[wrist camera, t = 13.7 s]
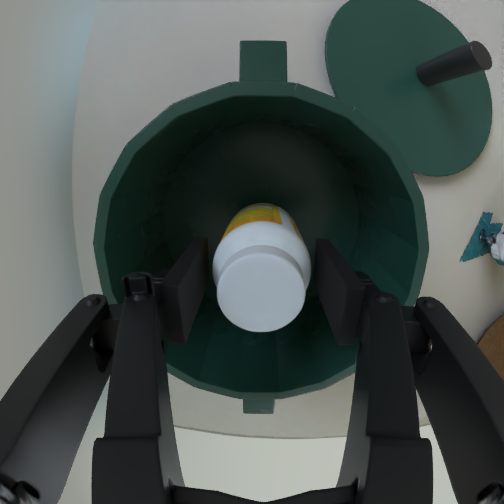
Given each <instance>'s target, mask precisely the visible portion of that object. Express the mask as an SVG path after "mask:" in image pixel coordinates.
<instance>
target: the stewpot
mask: <svg viewBox="0 0 504 504" xmlns="http://www.w3.org/2000/svg"><path fill="white" fill-rule="evenodd" d="M259 203H268V204H273V205H276V206H278V207H280V208H282V209H284V210H285V211H286V212H287V213H288V214H289V215H290V216H291V217H292V218H293V220H294V222H295V223H296V225H297V227H298V229H299V232H300V234H301V236H302V238H303V241H304V243H305V245H306V247H307V250H308V252H309V255H310V259H311V277H310V282H309V284H308V287H307V289H306V294H305V301H304V304H303V307H302V309H301V311H300V312H299V314H298V315H297V316H296V317H295V318H294V319H293V320H292V321H291V322H290V323H288V324H287V325H286V326H284V327H282V328H280V329H277V330H274V331H269V332H253V331H248V330H245V329H243V328H240V327H238V326H236V325H235V324H233V323H232V322H231V321H230V320H229V319H228V318H227V317H226V316H225V315H224V314H223V312H222V310H221V308H220V306H219V304H218V300H217V287H216V285H215V282H214V278H213V269H212V267H213V259H214V255H215V252H216V250H217V247H218V245H219V244H220V242H221V240H222V237H223V236H224V233H225V231H226V229H227V227H228V226H229V224H230V222H231V220H232V219H233V217H234V216H235V215H236V214H237V213H238V212H239V211H240V210H242V209H243V208H245V207H247V206H250V205H253V204H259ZM195 237H198V238H208V259H209V276H210V280H209V283H208V285H207V288H206V291H205V293H204V296H203V298H202V301H201V304H200V306H199V309H198V311H197V314H196V317H195V319H194V322H193V325H192V327H191V330H190V333H189V335H188V338H187V341H186V343H185V344H180V343H168V338H167V332H166V334H165V336H164V338H163V339H164V344H165V353H166V365H167V372H168V373H170V374H172V375H173V376H175V377H177V378H179V379H181V380H182V381H184V382H186V383H188V384H190V385H191V386H193V387H196V388H199V389H203V390H206V391H210V392H213V393H217V394H221V395H225V396H229V397H233V398H238V399H243V413H248V414H273V413H274V406H275V399H284V398H289V397H293V396H298V395H302V394H306V393H310V392H314V391H318V390H321V389H323V388H324V389H325V388H327V387H329V386H331V385H333V384H334V383H336V382H338V381H340V380H342V379H344V378H346V377H348V376H349V375H351V374H353V373H355V372H356V362H354V359H355V356H356V352H357V348H358V344H359V340H360V339H359V337H358V335H357V333H356V338H355V342H354V344H352V345H337V343H336V340H335V338H334V335H333V332H332V330H331V327H330V324H329V322H328V319H327V316H326V314H325V311H324V308H323V306H322V303H321V301H320V298H319V295H318V293H317V290H316V288H315V285H314V283H313V272H314V261H315V248H316V239H329V240H330V241H331V243H332V244H333V245H334V247H335V248H336V249H337V250H338V252H339V253H340V254H341V255H342V257H343V258H344V259H345V261H346V262H347V263H348V265H349V266H350V267H351V268H352V270H353V271H361V272H363V273H365V274H367V275H368V276H369V277H370V278H371V281H373V282H374V284H375V285H376V286H377V287H378V288H379V290H380V291H381V292H387V293H390V294H393V295H395V296H396V297H397V298H398V299H399V302H400V305H403V306H411V307H413V306H414V304H415V302H416V300H417V299H418V296H419V293H420V289H421V285H422V281H423V276H424V272H425V267H426V262H427V257H428V252H429V241H428V230H427V221H426V213H425V205H424V199H423V195H422V193H421V191H420V189H419V186H418V184H417V182H416V180H415V178H414V176H413V174H412V172H411V170H410V168H409V166H408V164H407V162H406V160H405V158H404V156H403V154H402V152H401V151H400V149H399V148H398V146H397V145H396V144H395V143H394V142H393V141H392V140H391V139H390V138H389V137H388V136H387V135H386V134H385V133H384V132H383V131H381V130H380V129H379V128H378V127H377V126H376V125H375V124H374V123H373V122H372V121H371V120H370V119H368V118H367V117H366V116H365V115H364V114H363V113H362V112H361V111H359V110H358V109H357V108H356V107H354V106H353V105H351V104H348V103H346V102H344V101H342V100H339V99H337V98H335V97H332V96H330V95H327V94H325V93H322V92H320V91H317V90H315V89H312V88H309V87H307V86H304V85H301V84H298V83H296V84H295V83H292V82H287V46H286V41H240V79H239V82H232V83H231V82H229V83H226V84H223V85H220V86H217V87H214V88H211V89H209V90H206V91H203V92H200V93H198V94H195V95H193V96H190V97H187V98H185V99H183V100H180V101H178V102H175V103H173V104H172V105H170V106H169V107H168V108H166V109H165V110H164V111H163V112H162V113H160V114H159V115H158V116H157V117H156V118H155V119H153V120H152V121H151V122H150V123H149V124H148V125H147V126H145V127H144V128H143V129H142V130H141V131H140V132H139V133H138V134H137V135H136V136H135V137H134V138H132V139H131V140H130V141H129V142H128V143H127V145H126V146H125V148H124V149H123V151H122V153H121V155H120V156H119V158H118V160H117V162H116V164H115V166H114V168H113V169H112V171H111V173H110V175H109V177H108V179H107V181H106V183H105V185H104V187H103V189H102V191H101V194H100V197H99V204H98V210H97V217H96V224H95V232H94V241H93V245H94V252H95V258H96V263H97V269H98V274H99V279H100V283H101V288H102V292H103V295H104V296H106V298H107V301H108V305H110V304H120V303H124V293H123V288H122V282H121V279H122V277H123V276H125V275H127V274H129V273H132V272H140V271H144V272H149V273H151V274H152V276H154V275H155V274H156V273H158V272H160V271H161V270H171V268H172V267H173V266H174V264H175V263H176V262H177V260H178V259H179V258H180V256H181V255H182V254H183V252H184V251H185V250H186V249H187V247H188V246H189V245H190V243H191V242H192V241H193V239H194V238H195Z"/></svg>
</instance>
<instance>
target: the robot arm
mask: <svg viewBox="0 0 504 504" xmlns="http://www.w3.org/2000/svg"><path fill="white" fill-rule="evenodd" d="M209 280H210V276H209V259H208V238H198V237H195V238H194V239H193V241H192V242H191V243H190V245H189V246H188V247H187V249H186V250H185V251H184V252H183V254H182V255H181V256H180V258H179V259H178V260H177V262H176V263H175V264H174V266H173V267H172V268H171V270H161V271H160V272H158V273H156V274H155V275H154V276H152V274H151V273H149V272H144V271H140V272H132V273H129V274H127V275H125V276H123V277H122V279H121V282H122V288H123V293H124V303H120V304H110V305H108V301H107V298H106V296H104V295H100V294H96V295H95V294H92V295H88V296H87V297H85V298H83V299H82V300H80V301H79V303H78V304H77V305H76V306H75V307H74V308H73V309H72V311H70V312H69V314H68V315H67V316H66V317H65V318H64V319H63V320H62V322H61V323H60V324H59V325H58V326H57V327H56V329H55V330H54V331H53V332H52V334H51V335H50V336H49V337H48V338H47V339H46V341H45V342H44V343H43V344H42V346H41V347H40V348H39V349H38V351H37V352H36V353H35V355H34V356H33V357H32V358H31V359H30V361H29V362H28V363H27V365H26V366H25V367H24V369H23V370H22V371H21V373H20V374H19V375H18V377H17V378H16V379H15V381H14V382H13V384H12V385H11V386H10V388H9V389H8V391H7V392H6V394H5V395H4V397H3V398H2V399H1V401H0V504H57V503H58V501H59V499H60V497H61V494H62V492H63V489H64V487H65V484H66V481H67V478H68V476H69V473H70V470H71V467H72V464H73V461H74V459H75V456H76V453H77V451H78V448H79V446H80V443H81V441H82V438H83V436H84V433H85V431H86V428H87V426H88V423H89V421H90V419H91V416H92V413H93V411H94V409H95V407H96V404H97V402H98V400H99V398H100V396H101V393H102V391H103V389H104V386H105V385H106V382H107V380H108V378H109V376H110V382H109V390H108V399H107V409H106V421H105V433H104V437H103V438H97V439H96V440H95V441H94V446H93V457H92V504H432V503H433V459H432V446H431V442H430V440H429V439H428V438H421V437H420V431H419V417H418V406H417V396H416V389H417V391H418V394H419V396H420V398H421V401H422V403H423V406H424V408H425V411H426V413H427V416H428V418H429V421H430V423H431V426H432V428H433V431H434V434H435V436H436V439H437V442H438V445H439V447H440V450H441V453H442V456H443V459H444V462H445V465H446V468H447V472H448V475H449V478H450V482H451V485H452V488H453V491H454V494H455V496H456V500H457V502H458V504H504V381H503V380H502V378H501V377H500V375H499V374H498V373H497V371H496V370H495V368H494V367H493V366H492V364H491V363H490V362H489V360H488V359H487V357H486V356H485V355H484V353H483V352H482V351H481V350H480V348H479V347H478V346H477V344H476V343H475V342H474V341H473V339H472V338H471V337H470V336H469V334H468V333H467V332H466V331H465V329H464V328H463V327H462V326H461V325H460V323H459V322H458V321H457V320H456V319H455V317H454V316H453V315H452V314H451V313H450V312H449V311H448V309H447V308H446V307H445V306H444V305H443V304H442V303H441V302H440V301H438V300H436V299H435V298H433V297H432V298H431V297H420V298H418V299H417V301H416V304H415V307H411V306H403V305H400V302H399V299H398V298H397V297H396V296H395V295H393V294H390V293H387V292H381V291H380V290H379V288H378V287H377V286H376V285H375V284H374V282H373V281H371V278H370V277H369V276H368V275H367V274H365V273H363V272H361V271H353V270H352V268H351V267H350V266H349V265H348V263H347V262H346V261H345V259H344V258H343V257H342V255H341V254H340V253H339V252H338V250H337V249H336V248H335V247H334V245H333V244H332V243H331V241H330V240H329V239H316V248H315V261H314V272H313V283H314V285H315V288H316V290H317V293H318V295H319V298H320V301H321V303H322V306H323V308H324V311H325V314H326V316H327V319H328V322H329V324H330V327H331V330H332V332H333V335H334V338H335V340H336V343H337V345H352V344H354V342H355V338H356V333H357V335H358V337H359V339H360V340H359V344H358V348H357V352H356V356H355V359H354V362H356V372H355V382H354V391H353V399H352V407H351V414H350V421H349V428H348V434H347V440H346V446H345V451H344V456H343V461H342V466H341V470H340V475H339V479H338V483H337V485H336V488H330V489H321V490H312V491H308V492H304V493H301V494H297V495H294V496H290V497H286V498H283V499H278V500H274V501H270V502H258V501H254V500H249V499H245V498H241V497H237V496H233V495H230V494H226V493H223V492H219V491H214V490H204V489H196V488H189V487H185V484H184V481H183V477H182V472H181V467H180V461H179V456H178V451H177V444H176V438H175V432H174V425H173V418H172V411H171V403H170V395H169V386H168V376H167V365H166V353H165V344H164V339H163V338H164V336H165V334H166V332H167V338H168V343H180V344H185V343H186V341H187V338H188V335H189V333H190V330H191V327H192V325H193V322H194V319H195V317H196V314H197V311H198V309H199V306H200V304H201V301H202V298H203V296H204V293H205V291H206V288H207V285H208V283H209ZM90 344H91V346H90ZM431 344H432V350H431V348H430V347H431ZM415 387H416V388H415Z"/></svg>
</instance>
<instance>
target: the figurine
mask: <svg viewBox="0 0 504 504" xmlns="http://www.w3.org/2000/svg"><path fill="white" fill-rule="evenodd" d="M492 215H493V214H492V213H490V212H489V213H485V212H483V216H482V218H481V219H480V222H479V225H478V226H477V228H476V230H475V231H474V234H473V236H472V238H471V242H470V243H469V245H468V246H467V249H466V250H465V251H464V254H463V257H462V256H461V259H460V261H463V262H464V261H466V260H469V259H473V258H474V257H477V256H479V255H481V256H483V255H484V254H486V253H490V252H491V257H492V258H493V259H494V260H495V261H496V262H497V263H498V264H500V265H503V266H504V230H503V231H501V227H502V225H503V223H502V224H501V223H499V224H497V223H496V224H494V223H492V224H490V221H491V217H492ZM500 231H501V232H500Z"/></svg>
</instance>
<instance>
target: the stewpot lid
mask: <svg viewBox="0 0 504 504" xmlns="http://www.w3.org/2000/svg"><path fill="white" fill-rule="evenodd" d="M325 60H326V68H327V72H328V76H329V80H330V83H331V86H332V88H333V91H334V93H335V96H336V98H337V99H339V100H342V101H344V102H346V103H348V104H351V105H353V106H354V107H356V108H357V109H358V110H359V111H361V112H362V113H363V114H364V115H365V116H366V117H367V118H368V119H370V120H371V121H372V122H373V123H374V124H375V125H376V126H377V127H378V128H379V129H380V130H381V131H383V132H384V133H385V134H386V135H387V136H388V137H389V138H390V139H391V140H392V141H393V142H394V143H395V144H396V145H397V146H398V148H399V149H400V151H401V152H402V154H403V156H404V158H405V160H406V162H407V164H408V166H409V168H410V170H411V172H414V173H418V174H422V175H427V176H448V175H451V174H455V173H458V172H460V171H462V170H464V169H465V168H467V167H468V166H469V165H471V164H472V163H473V162H474V161H475V160H476V159H477V158H478V156H479V155H480V153H481V152H482V150H483V149H484V147H485V144H486V142H487V140H488V137H489V133H490V129H491V123H492V100H491V93H490V88H489V84H488V80H487V78H486V75H485V72H484V71H485V70H489V69H490V68H491V67H492V60H491V57H490V54H489V52H488V51H487V49H486V48H485V47H484V46H483V45H482V44H481V43H480V42H478V41H472V42H470V43H469V42H468V41H467V39H466V38H465V37H464V36H463V35H462V33H461V32H460V31H459V30H458V29H457V28H456V27H455V26H454V25H453V24H452V23H451V22H450V21H449V20H448V19H447V18H445V17H444V16H443V15H442V14H440V13H439V12H438V11H436V10H435V9H433V8H432V7H430V6H428V5H426V4H425V3H423V2H421V1H418V0H350V1H348V2H347V3H345V4H344V5H343V6H342V7H341V8H340V9H339V10H338V11H337V13H336V14H335V16H334V18H333V19H332V21H331V23H330V26H329V28H328V31H327V36H326V41H325Z"/></svg>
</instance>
